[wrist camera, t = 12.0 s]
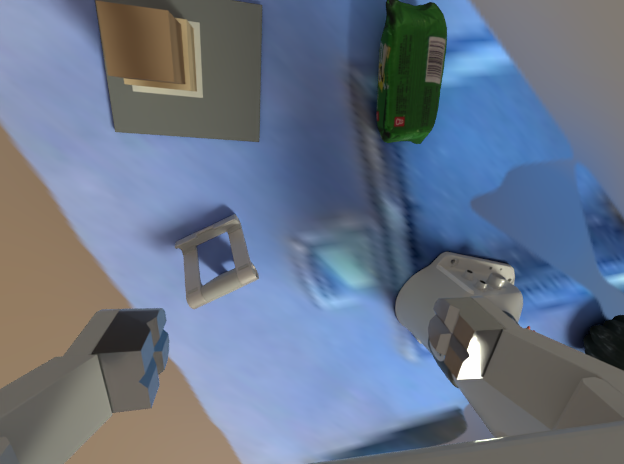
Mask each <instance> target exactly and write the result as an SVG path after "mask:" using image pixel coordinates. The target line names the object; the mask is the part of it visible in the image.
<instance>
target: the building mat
mask: <svg viewBox="0 0 624 464" xmlns="http://www.w3.org/2000/svg"><path fill="white" fill-rule="evenodd" d="M96 1H103V2H110V3H118V4H125V5H132V6H139V7H146V8H154V9H161V10H168V11H169V12H170V13H171V14H172V15H173V16H174V18H180V19H186V20H187V21H188V22H189V23H190V25H191V26H192V27H193V28H194V45H195V64H196V83H197V92H196V91H186V90H176V89H166V88H156V87H146V86H136V85H128V84H124V78H120V77H114V76H108V73H107V66H106V60H105V54H104V48H103V42H102V36H101V30H100V23H99V17H98V11H97V5H96V11H97V17H98V24H99V30H100V37H101V43H102V49H103V56H104V62H105V69H106V75H107V82H108V88H109V95H110V101H111V107H112V114H113V120H114V127H115V132H123V133H138V134H152V135H166V136H181V137H195V138H209V139H224V140H238V141H252V142H259V131H260V84H261V37H262V5H259V4H252V3H246V2H240V1H234V0H95V4H96Z"/></svg>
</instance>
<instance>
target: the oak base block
mask: <svg viewBox="0 0 624 464" xmlns="http://www.w3.org/2000/svg"><path fill="white" fill-rule="evenodd" d="M175 19H176V20H177V21H178V22H179V23H180V24H181V29H182V42H183V56H184V70H185V83H186V84H175V83H164V82H154V81H143V80H133V79H126V78H124V84H128V85H136V86H146V87H156V88H166V89H176V90H186V91H196V92H197V83H196V64H195V45H194V28H193V27H192V26H191V25H190V23H189V22H188V21H187V20H186V19H180V18H175Z"/></svg>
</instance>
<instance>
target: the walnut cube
mask: <svg viewBox="0 0 624 464" xmlns="http://www.w3.org/2000/svg"><path fill="white" fill-rule="evenodd" d="M96 5H97V11H98V17H99V23H100V30H101V36H102V42H103V48H104V54H105V60H106V66H107V73H108V76H114V77H120V78H126V79H133V80H143V81H154V82H164V83H175V84H186V83H185V70H184V56H183V42H182V29H181V24H180V23H179V22H178V21H177V20H176V19H175V18H174V16H173V15H172V14H171V13H170V12H169V11H168V10H161V9H154V8H146V7H139V6H132V5H125V4H118V3H110V2H103V1H96Z"/></svg>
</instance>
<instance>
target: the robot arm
mask: <svg viewBox="0 0 624 464" xmlns="http://www.w3.org/2000/svg"><path fill="white" fill-rule="evenodd" d="M451 260H452V261H451ZM514 279H515V275H514V269H513V267H511V266H510V265H508V264H505V263H500V262H495V261H490V260H486V259H481V258H476V257H471V256H466V255H461V254H456V253H451V252H444V253H442V254H440V255H439V256H438V257H437V258H436V259H435V260H434V261H433V262H432V264H430V265H429V266H428V267H426V268H424V269H422V270H421V271H419V272H417V273H416V274H415V275H413V276H412V277H411V278H410V279H409V280H408V281H407V282H406V283H405V284H404V286H403V287H402V289H401V290H400V292H399V294H398V297H397V300H396V304H395V312H396V316H397V319H398V320H399V322H400V323H401V324H402V325H403V326H404V327H405V328H407V329H408V330H409V331H410V332H411V333H412V334H413V335H414V337H415V338H416V339H417V340H418V342H419V343H422V344H423V345H424V346H425V347H426V348H427V349H428V351H429V352H430V353H431V354H432V355H433V357H434V359H435V360H436V362H437V364H438V366H439V367H440V368H441V370H442V371H443V372H444V374H445V375H446V377H447V378H448V380H450V382H451V383H452V384H453V385H454V386H455V387H457V388H459V389H460V390H461V392H462V393H463V395H464V396H465V397H466V399H467V400H468V402H469V403H470V404H471V406H472V407H473V408H474V410H475V411H476V413H477V414H478V415H479V417H480V418H481V419H482V421H483V422H484V424H485V425H486V427H487V428H488V429H489V431H490V432H491V433H492V434H493V436H494V437H495V438H492V439H484V440H477V441H470V442H463V443H456V444H449V445H441V446H434V447H427V448H420V449H412V450H405V451H398V452H391V453H383V454H376V455H369V456H361V457H354V458H347V459H339V460H332V461H325V462H317V463H310V464H624V371H623V370H620V369H618V368H616V367H614V366H611V365H609V364H607V363H605V362H602V361H600V360H598V359H596V358H593V357H591V356H589V355H586V354H584V353H582V352H580V351H577V350H575V349H573V348H571V347H568V346H566V345H564V344H562V343H559V342H557V341H555V340H552V339H550V338H548V337H546V336H543V335H541V334H539V333H537V332H535V331H534V330H533V331H532V330H530V326H528V327H527V328H524V329H523V328H522V327H520V326H519V324H518V321H519V318H520V315H521V311H522V307H523V297H522V294H521V292H520V291H519V289H518V288H516V287H515V286H514ZM165 323H166V315H165V310H164V309H163V308H145V309H105V310H100V311H98V312H96V313H95V315H94V316H93V317H92V319H91V320H90V321H89V323H88V324H87V325H86V326H85V328H84V329H83V331H82V332H81V333H80V334H79V336H78V337H77V338H76V340H75V341H74V343H73V344H72V345H71V346H70V348H69V349H68V350H67V352H66V353H65V354H64V356H63V357H55V358H53V359H51V360H49V361H48V362H46V363H45V364H42V365H41V366H39V367H37V368H36V369H34V370H32V371H30V372H29V373H27V374H25V375H24V376H22V377H20V378H18V379H17V380H15V381H13V382H11V383H10V384H8V385H7V386H5V387H3V388H1V389H0V464H64V463H65V462H66V461H67V460H68V459H69V458H70V457H71V456H72V455H73V454H74V453H75V452H76V451H77V450H78V449H79V448H80V447H81V446H82V445H83V444H84V443H85V442H86V441H87V440H88V439H89V438H90V437H91V436H92V435H93V434H94V433H95V432H96V431H97V430H98V429H99V428H100V427H101V426H102V425H103V424H104V423H105V422H106V421H107V420H108V419H109V418H110V417H111V416H112V413H116V412H124V411H132V410H140V409H148V408H152V405H153V402H154V399H155V396H156V393H157V390H158V387H159V378H158V375H159V374H160V373H161V372H163V370H165V366H166V363H167V359H168V353H169V336H168V333H167V332H166V331H165V330H163V328H164V326H165Z"/></svg>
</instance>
